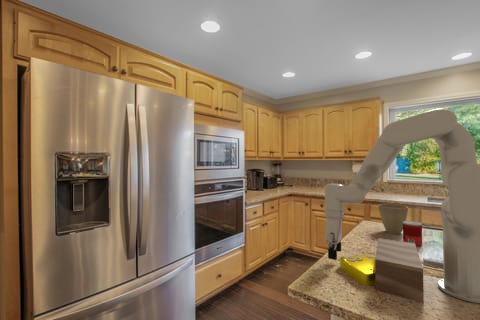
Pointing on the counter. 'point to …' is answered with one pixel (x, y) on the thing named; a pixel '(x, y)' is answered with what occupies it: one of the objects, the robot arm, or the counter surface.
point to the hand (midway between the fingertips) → (334, 254)
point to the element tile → (360, 268)
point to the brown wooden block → (399, 269)
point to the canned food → (412, 232)
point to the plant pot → (393, 217)
